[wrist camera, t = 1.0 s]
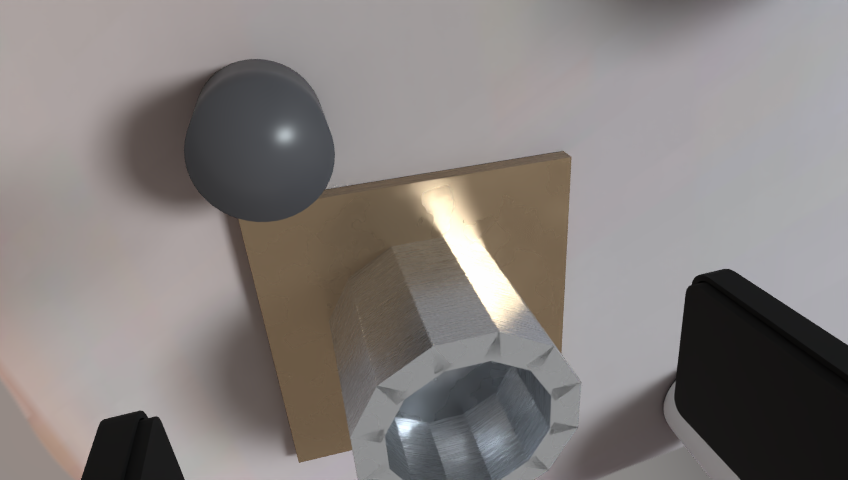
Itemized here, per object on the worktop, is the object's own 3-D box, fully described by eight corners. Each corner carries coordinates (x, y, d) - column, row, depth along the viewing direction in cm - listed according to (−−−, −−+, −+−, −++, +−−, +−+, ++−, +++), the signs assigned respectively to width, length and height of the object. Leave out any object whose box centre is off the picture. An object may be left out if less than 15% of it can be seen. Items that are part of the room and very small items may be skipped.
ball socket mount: (237, 204, 30) (229, 314, 22) (563, 151, 34) (667, 228, 25) (298, 450, 39) (309, 598, 31) (552, 390, 42) (627, 508, 34)
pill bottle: (639, 410, 46) (789, 601, 33) (714, 334, 44) (904, 505, 31) (697, 442, 49) (851, 624, 37) (768, 373, 47) (958, 540, 35)
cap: (179, 67, 27) (165, 94, 23) (312, 51, 28) (322, 74, 24) (212, 188, 30) (205, 233, 26) (331, 170, 31) (343, 209, 27)
